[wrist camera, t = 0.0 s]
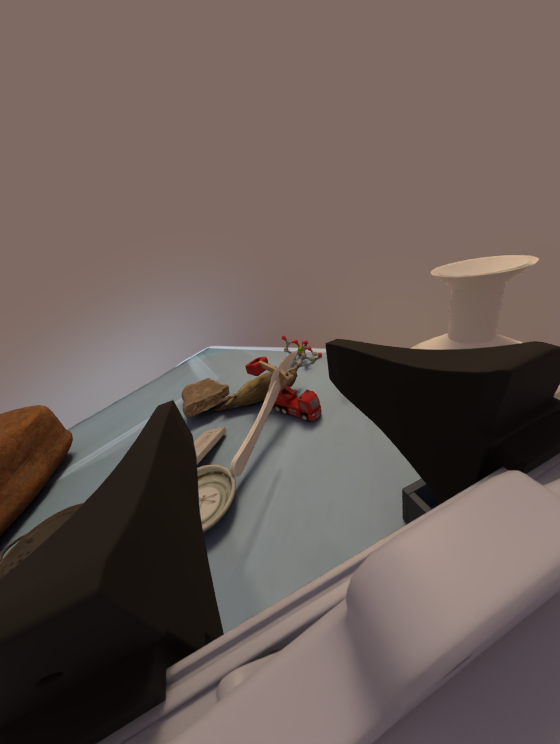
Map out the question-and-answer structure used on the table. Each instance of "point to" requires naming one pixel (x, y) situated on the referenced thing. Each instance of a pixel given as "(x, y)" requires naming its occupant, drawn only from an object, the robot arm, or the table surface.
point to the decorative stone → (202, 396)
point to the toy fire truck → (288, 393)
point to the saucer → (214, 493)
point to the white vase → (477, 301)
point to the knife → (260, 418)
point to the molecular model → (301, 350)
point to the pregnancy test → (207, 442)
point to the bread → (28, 457)
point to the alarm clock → (33, 539)
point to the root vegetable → (254, 391)
